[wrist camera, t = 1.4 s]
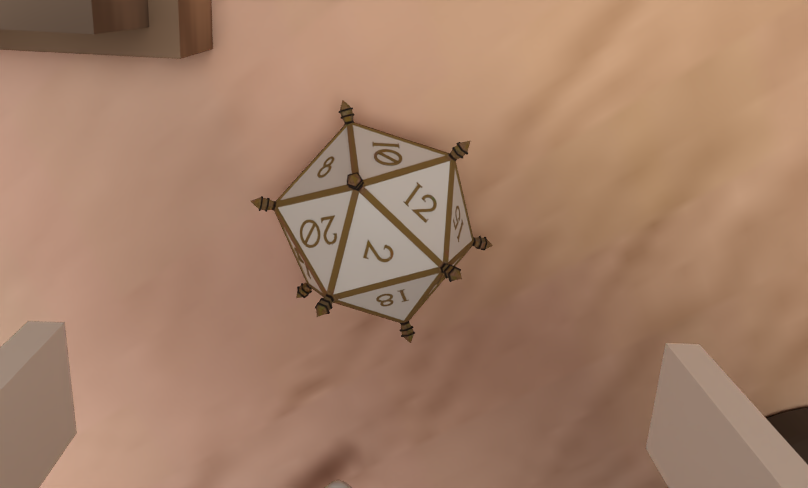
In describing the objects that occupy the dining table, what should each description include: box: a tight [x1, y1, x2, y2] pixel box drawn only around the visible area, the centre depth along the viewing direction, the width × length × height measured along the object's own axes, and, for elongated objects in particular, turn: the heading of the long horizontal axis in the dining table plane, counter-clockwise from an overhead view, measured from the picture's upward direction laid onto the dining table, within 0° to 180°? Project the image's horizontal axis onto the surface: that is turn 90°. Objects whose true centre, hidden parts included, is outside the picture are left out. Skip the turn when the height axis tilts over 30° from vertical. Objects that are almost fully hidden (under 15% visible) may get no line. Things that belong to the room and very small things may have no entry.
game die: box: [251, 101, 493, 343], centre depth 28 cm, size 9×8×10 cm
